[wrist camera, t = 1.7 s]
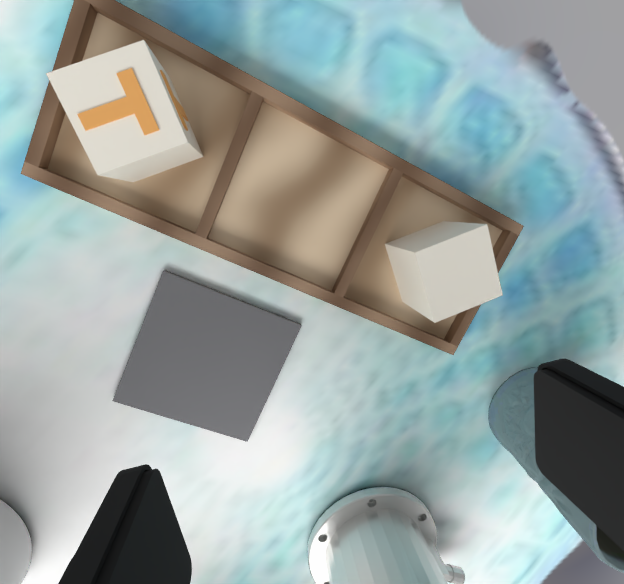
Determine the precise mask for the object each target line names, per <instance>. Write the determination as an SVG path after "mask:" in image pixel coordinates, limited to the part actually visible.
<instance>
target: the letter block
mask: <svg viewBox="0 0 624 584" xmlns="http://www.w3.org/2000/svg"><path fill="white" fill-rule="evenodd" d="M46 75H47V77H48V79H49V80H50V82H51V84H52V86H53V88H54V90H55V92H56V94H57V96H58V98H59V100H60V102H61V104H62V106H63V108H64V110H65V112H66V114H67V116H68V118H69V120H70V122H71V124H72V126H73V128H74V130H75V132H76V134H77V136H78V138H79V140H80V142H81V144H82V146H83V148H84V150H85V152H86V153H87V155H88V157H89V159H90V161H91V163H92V165H93V167H94V169H95V171H96V173H97V175H100V176H104V177H109V178H114V179H119V180H124V181H129V182H136V181H138V180H141V179H144V178H147V177H149V176H152V175H155V174H158V173H160V172H163V171H166V170H168V169H171V168H174V167H177V166H179V165H182V164H185V163H188V162H190V161H193V160H196V159H199V158H201V157H203V155H202V152H201V150H200V148H199V145H198V143H197V140H196V138H195V136H194V133H193V131H192V128H191V126H190V124H189V121H188V118H187V116H186V114H185V111H184V109H183V107H182V105H181V102H180V100H179V98H178V95H177V93H176V90H175V88H174V86H173V83H172V81H171V79H170V77H169V76H168V74H167V73H166V71H165V70H164V68H163V67H162V65H161V64H160V63H159V61H158V60H157V58H156V57H155V55H154V54H153V52H152V51H151V49H150V48H149V46H148V45H147V44H146V42H145V41H144V40H142V41H139V42H136V43H133V44H130V45H127V46H124V47H121V48H118V49H115V50H113V51H110V52H107V53H104V54H101V55H98V56H95V57H92V58H89V59H86V60H83V61H81V62H78V63H75V64H72V65H69V66H66V67H63V68H60V69H57V70H54V71H52V72H49V73H46Z"/></svg>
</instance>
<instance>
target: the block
mask: <svg viewBox="0 0 624 584" xmlns="http://www.w3.org/2000/svg"><path fill="white" fill-rule="evenodd" d="M385 247H386V250H387V253H388V256H389V260H390V263H391V266H392V269H393V273H394V276H395V279H396V283H397V286H398V289H399V292H400V296H401V299H402V302H404V303H405V304H407V305H408V306H410V307H411V308H413V309H414V310H416V311H417V312H419V313H420V314H422V315H423V316H425V317H426V318H428V319H430V320H431V321H433V322H434V323H436V322H438V321H441V320H443V319H446V318H448V317H451V316H453V315H456V314H458V313H460V312H463V311H465V310H468V309H470V308H473V307H475V306H478V305H480V304H483V303H485V302H487V301H490V300H492V299H495V298H497V297H500V296H502V295H503V294H502V290H501V285H500V280H499V276H498V271H497V267H496V262H495V258H494V253H493V248H492V244H491V239H490V235H489V230H488V226H487V224H478V223H464V222H450V221H442V222H440V223H437V224H435V225H432V226H429V227H427V228H424V229H422V230H419V231H417V232H414V233H412V234H409V235H406V236H404V237H401V238H399V239H396V240H394V241H391V242H389V243H386V244H385Z"/></svg>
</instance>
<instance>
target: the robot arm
mask: <svg viewBox="0 0 624 584" xmlns="http://www.w3.org/2000/svg"><path fill="white" fill-rule="evenodd" d="M534 420H535V459H536V464H537V466H538V468H539V470H540V471H541V473H542V474H543V475H544V476H545V477H546V478H547V479H548V480H549V481H550V482H551V483H552V484H553V485H554V486H555V487H556V488H557V489H559V490H560V491H561V492H562V493H563V494H564V495H565V496H566V497H567V498H568V499H569V500H570V501H571V502H572V503H573V504H574V505H575V506H577V507H578V508H579V509H580V510H581V511H582V512H583V513H584V514H585V515H586V516H587V517H588V518H589V519H590V520H591V521H592V522H594V523H595V524H596V525H597V526H598V527H599V528H600V529H601V530H602V531H603V532H604V533H605V534H606V535H607V536H608V537H609V538H610V539H612V540H613V541H614V542H615V543H616V544H617V545H618V546H619V547H620V548H621V549H622V550H623V551H624V387H623V386H621V385H619V384H617V383H615V382H613V381H611V380H609V379H607V378H605V377H603V376H601V375H598V374H596V373H594V372H592V371H590V370H588V369H586V368H584V367H582V366H580V365H578V364H576V363H574V362H572V361H570V360H567V359H559V360H555V361H551V362H547V363H543V364H541V365H539V367H538V370H537V372H535V374H534ZM436 544H437V530H436V526H435V522H434V520H433V518H432V516H431V514H430V512H429V510H428V509H427V508H426V506H425V505H424V503H423V502H422V501H421V500H419V499H418V498H417V497H416V496H414V495H412V494H411V493H409V492H407V491H404V490H400V489H397V488H390V487H376V488H369V489H364V490H360V491H357V492H355V493H352V494H350V495H347V496H346V497H344V498H342V499H341V500H339V501H337V502H336V503H335V504H333V505H332V506H331V507H330V508H329V509H327V510H326V511H325V512H324V514H323V515H322V516H321V517H320V518H319V519H318V521H317V523H316V524H315V526H314V528H313V529H312V532H311V535H310V538H309V540H308V548H307V554H308V563H309V568H310V572H311V575H312V577H313V579H314V581H315V583H316V584H447V581H448V582H450V583H454V584H463V583H464V581H465V574H464V571H463V570H462V568H461V567H457V566H453V565H449V564H447V565H446V564H444V563H443V561H442V559H441V557H440V555H439V553H438V551H437V549H436ZM191 574H192V565H191V558H190V555H189V552H188V549H187V546H186V544H185V541H184V538H183V535H182V532H181V529H180V527H179V524H178V521H177V518H176V515H175V513H174V510H173V507H172V504H171V501H170V499H169V496H168V493H167V490H166V487H165V485H164V482H163V479H162V476H161V473H160V471H159V470H158V469H153V470H152V469H151V467H150V466H149V465H147V464H145V465H141V466H138V467H134V468H130V469H126V470H122V471H120V472H119V473H118V474H117V476H116V478H115V479H114V481H113V483H112V485H111V487H110V489H109V491H108V493H107V495H106V497H105V498H104V500H103V502H102V504H101V506H100V508H99V510H98V512H97V514H96V515H95V517H94V519H93V521H92V523H91V525H90V527H89V529H88V531H87V533H86V534H85V536H84V538H83V540H82V542H81V544H80V546H79V548H78V550H77V551H76V553H75V555H74V557H73V558H72V560H71V561H70V563H69V565H68V567H67V568H66V570H65V572H64V574H63V576H62V578H61V580H60V582H59V584H190V581H191Z"/></svg>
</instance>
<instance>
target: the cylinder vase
mask: <svg viewBox="0 0 624 584" xmlns="http://www.w3.org/2000/svg"><path fill="white" fill-rule="evenodd" d="M31 557H32V543H31V538H30V534H29V532H28V529H27V527H26V525H25V523H24V522H23V520H22V519H21V518H20V516H19V515H18V514H17V513H16V512H15V511H14V510H13V509H12V508H11V507H10V506H9V505H7V504H6V503H5V502H3V501H2V500H0V584H21V583H22V581H23V580H24V578H25V576H26V574H27V572H28V569H29V566H30V563H31Z"/></svg>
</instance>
